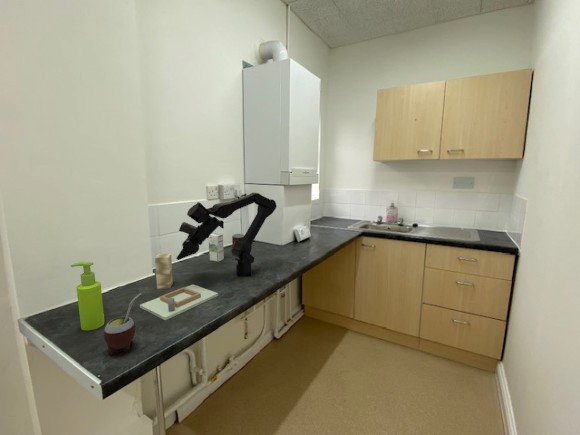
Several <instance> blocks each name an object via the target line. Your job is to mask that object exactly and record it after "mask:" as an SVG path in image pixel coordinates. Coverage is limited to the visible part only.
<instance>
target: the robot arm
mask: <svg viewBox="0 0 580 435" xmlns="http://www.w3.org/2000/svg"><path fill="white" fill-rule="evenodd" d="M252 204H255V205H257V209H256V210H257V212H256V215H255V216H254V218H253V220H252V221H251V224H250V225H249V227H248V229H247V230H246V232H245V234H243V235H244V237H243V239H242V240H240V241H236V242H235V244H234V246H233V247H232V246H231V248H233V249H231V251H230V252H231V256H232V257H233V258H234V260H235V261H237V263H236V265H235V267H236V268H235V269H236V271H235V272H236V275H237V278H238V277H252V276H253V273H252V264H253V263H254V262H255V257H254V256H253V255H252V253H251V252H252V246H253V242H254V240H255V239H256V237H257V236H258V234H259V231H260V230H261V228H262V226H263V225H264V223H265V221H266V220H267V218H269V217H270V216H271V215H272V214H273V213H274V212H275V211H276V209H277V202H276V200H274V199H270V198H268V197H266V196H264V195H262V194H260V193H259V192H251V193H249V194H246V195H245V196H244V195H243V196H242V197H239V198H236V199H234V200H231V201H228V202H227V201H226V202H218V203H215V204H213V205H212V207H209V208H206V206H204V205H203V204H202V203H201V202H196V203H195V204H194V205H192V206H191V207H190V208H189V209H188V210H187V213H186V215H187V216H188V218H190V219H192V220H193V221H194V222H196V223H197V224H200V225H197V226H194V225H193V224H190V223H188V222H185V221H182V223H181V225H180V226H179V229H178V231H179V232H181V233H185V234H187V238H186V239H185V240H184V241H183V242H182V244H181V245H182V249H181V250H180V252H179V253H178V255H177V256H176V258H175V259H176V260H177V261H180V260H181V259H184V258H187V257H190V256H193V255H196V254H197V253H198V252H199V250H200V246H202V244H203V243H204V242H205V241H206V240H207V239H209V236H210V235H211V234H212V233H214V232H215V231H216V230H217V229H218V227H219V228H221V229H224V228H225V226H224V220H220V219H227V218H228V217H230V216H231V215H233V213H234V212H236V211H237V210H240V209H243V208H245V207H247V206H250V205H252Z"/></svg>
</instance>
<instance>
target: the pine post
mask: <svg viewBox="0 0 580 435" xmlns="http://www.w3.org/2000/svg"><path fill="white" fill-rule="evenodd" d="M154 259H155V260H154V263H155V275H156V278H155V279H156V289H157V290H159V289H171V287H172V285H173V282H174V280H173V279H174V278H173V266H172V264H173V263H172V253H161V254H160V253H159V254H157V255H156V256H155V258H154Z"/></svg>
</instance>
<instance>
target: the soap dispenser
mask: <svg viewBox="0 0 580 435" xmlns="http://www.w3.org/2000/svg"><path fill="white" fill-rule="evenodd" d="M92 265H94V262H92V261H90V262H89V261H87V262H86V261H80V262H76V263H73V264H71V265H70V267H71V268H74V267H82V269H83V272H82V273H81V274H80V282H81V284H79V285H76V294H77V303H78V304H77V305H78V313H79V320H80V321H79V322H80V329H81V330H82V331H87V332H88V331H92V330H93V331H94V330H96V329H99V328H101V327H102V326H104V324H105V314H104V304H103V294H102V293H103V292H102V285H101V282H100V281H96V276H95V274H96V273H95V272H94V271H92V270H91V266H92Z"/></svg>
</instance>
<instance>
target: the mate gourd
mask: <svg viewBox="0 0 580 435" xmlns="http://www.w3.org/2000/svg"><path fill="white" fill-rule="evenodd" d="M141 295H142V292H140V293H138V294H137V295H136V296H135V297H133V299H131V301H130V302H129V304H128V309H127V312H126V314H125V316H118V317H114V318H113V319H110V321H108V322H107V324H106V325H105V327H104V330H103V337H104V340H105V343H106V345H107V347H108V350H109V352H110V353H109V356H110V357H113V356H114V355H115V354H116V355H117V354H118V353H119V352H125V353H127V352H129V353H130V352H132V350H131V349H130V347H131V345H132V344H133V343H134V341H133V340H134V337H135V334H136V324H135V322H134V321H133V318H132V317H129V315H130V313H131V309H132V306H133V305H134V302H135V301H136V300H137V299H138V298H139V297H140V296H141ZM112 355H113V356H112Z"/></svg>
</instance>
